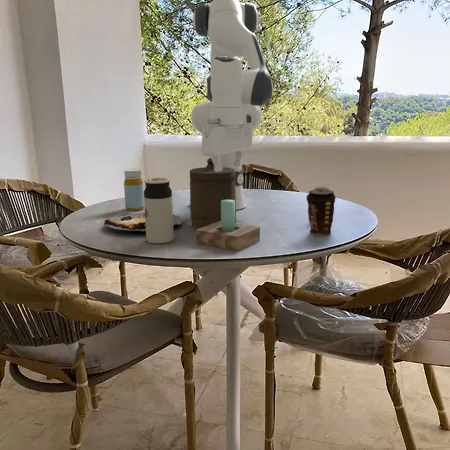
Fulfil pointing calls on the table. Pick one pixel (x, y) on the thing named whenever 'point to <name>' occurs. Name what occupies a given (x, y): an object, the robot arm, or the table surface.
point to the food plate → (132, 222)
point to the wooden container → (210, 193)
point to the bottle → (133, 190)
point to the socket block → (228, 236)
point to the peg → (228, 215)
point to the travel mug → (158, 210)
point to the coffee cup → (320, 211)
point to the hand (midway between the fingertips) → (228, 169)
